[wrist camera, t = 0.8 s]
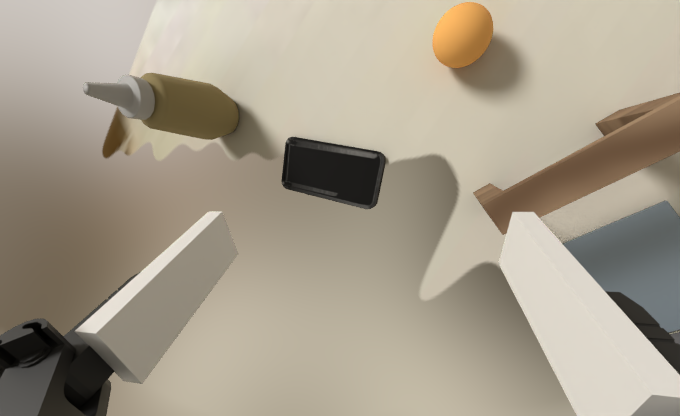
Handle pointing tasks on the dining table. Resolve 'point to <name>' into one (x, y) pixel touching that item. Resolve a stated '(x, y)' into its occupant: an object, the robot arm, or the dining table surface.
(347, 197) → the phone
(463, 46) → the ball
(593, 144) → the bridge
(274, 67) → the dining table surface
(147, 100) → the squeeze bottle
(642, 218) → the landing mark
